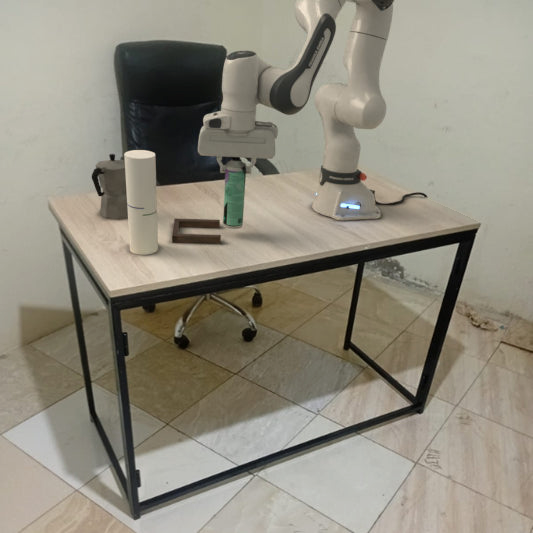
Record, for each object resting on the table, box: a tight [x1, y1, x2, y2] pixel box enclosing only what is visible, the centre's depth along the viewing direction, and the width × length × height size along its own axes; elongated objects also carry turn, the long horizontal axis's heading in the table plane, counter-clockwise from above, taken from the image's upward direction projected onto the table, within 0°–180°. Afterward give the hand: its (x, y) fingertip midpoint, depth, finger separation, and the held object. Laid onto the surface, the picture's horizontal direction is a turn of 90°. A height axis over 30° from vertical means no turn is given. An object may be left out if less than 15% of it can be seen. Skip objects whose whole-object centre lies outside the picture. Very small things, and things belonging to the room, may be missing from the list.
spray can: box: [222, 157, 247, 230], centre depth 137 cm, size 6×6×20 cm
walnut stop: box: [171, 217, 222, 245], centre depth 141 cm, size 13×12×2 cm
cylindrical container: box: [123, 149, 159, 256], centre depth 125 cm, size 7×7×25 cm
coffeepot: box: [91, 153, 128, 220], centre depth 145 cm, size 15×9×18 cm, turn 158°
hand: (235, 172), depth 134 cm, fingers closed on spray can, 5 cm apart
